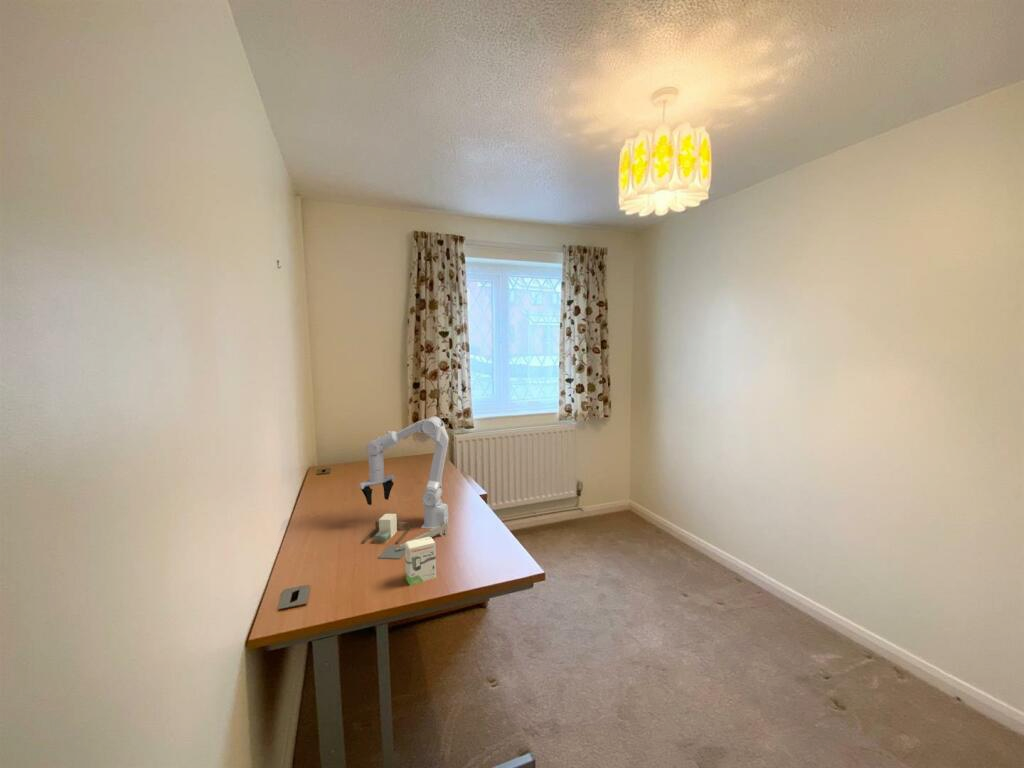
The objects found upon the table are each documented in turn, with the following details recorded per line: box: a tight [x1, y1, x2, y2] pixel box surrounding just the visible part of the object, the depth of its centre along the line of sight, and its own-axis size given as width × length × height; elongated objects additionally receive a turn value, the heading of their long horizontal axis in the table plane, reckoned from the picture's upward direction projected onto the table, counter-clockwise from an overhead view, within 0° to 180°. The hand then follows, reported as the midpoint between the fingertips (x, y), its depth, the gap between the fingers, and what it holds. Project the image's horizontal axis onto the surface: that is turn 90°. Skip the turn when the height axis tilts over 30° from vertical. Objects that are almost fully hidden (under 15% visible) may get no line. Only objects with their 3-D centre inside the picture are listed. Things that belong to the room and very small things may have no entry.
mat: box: [377, 545, 405, 560], centre depth 142 cm, size 8×9×1 cm
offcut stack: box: [373, 531, 391, 545], centre depth 151 cm, size 5×4×4 cm
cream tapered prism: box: [378, 513, 398, 539], centre depth 156 cm, size 4×6×8 cm
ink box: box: [404, 536, 437, 586], centre depth 126 cm, size 9×5×12 cm, turn 119°
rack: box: [361, 521, 411, 545], centre depth 155 cm, size 14×12×4 cm
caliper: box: [396, 521, 448, 550], centre depth 149 cm, size 20×1×6 cm, turn 130°
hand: (378, 501), depth 165 cm, fingers open, 7 cm apart
